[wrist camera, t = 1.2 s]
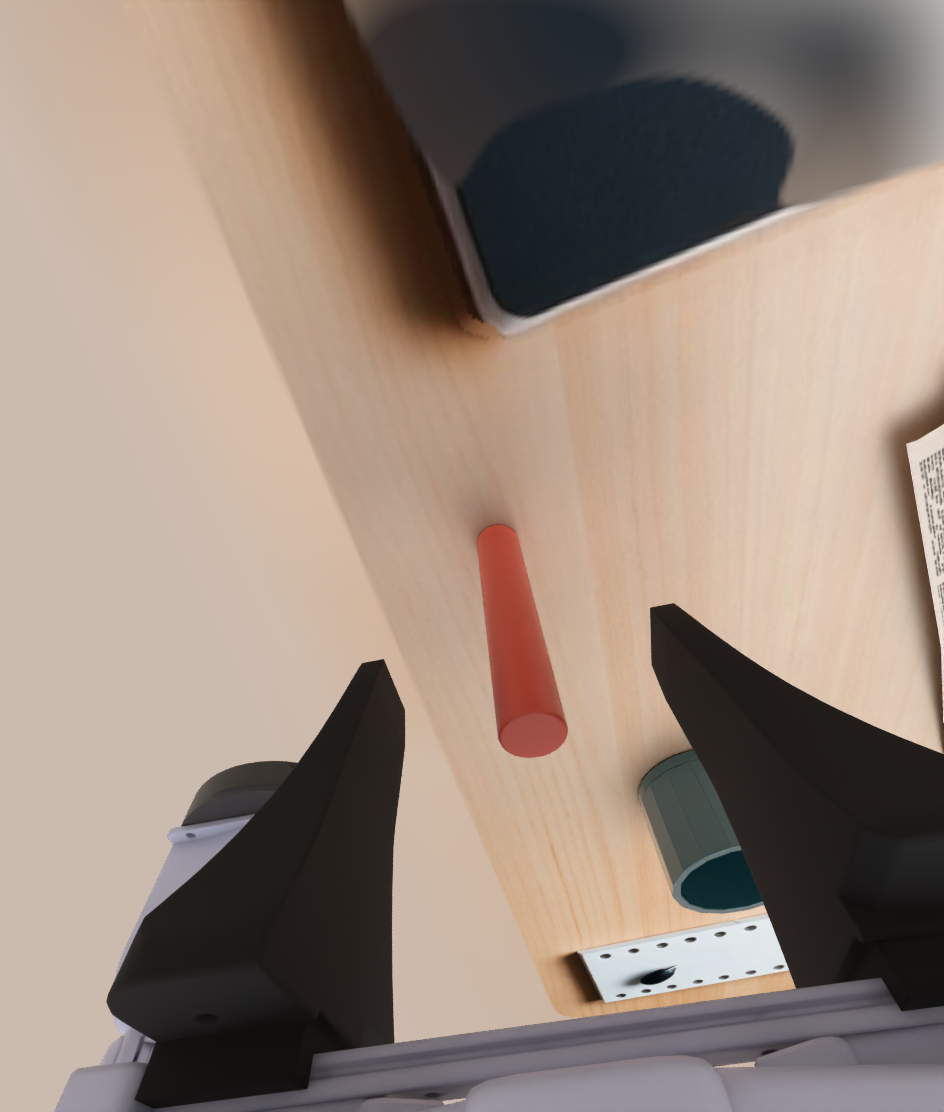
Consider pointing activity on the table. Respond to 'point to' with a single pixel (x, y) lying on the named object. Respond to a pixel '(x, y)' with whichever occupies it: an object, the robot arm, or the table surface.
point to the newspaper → (931, 515)
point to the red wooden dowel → (517, 651)
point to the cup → (695, 838)
